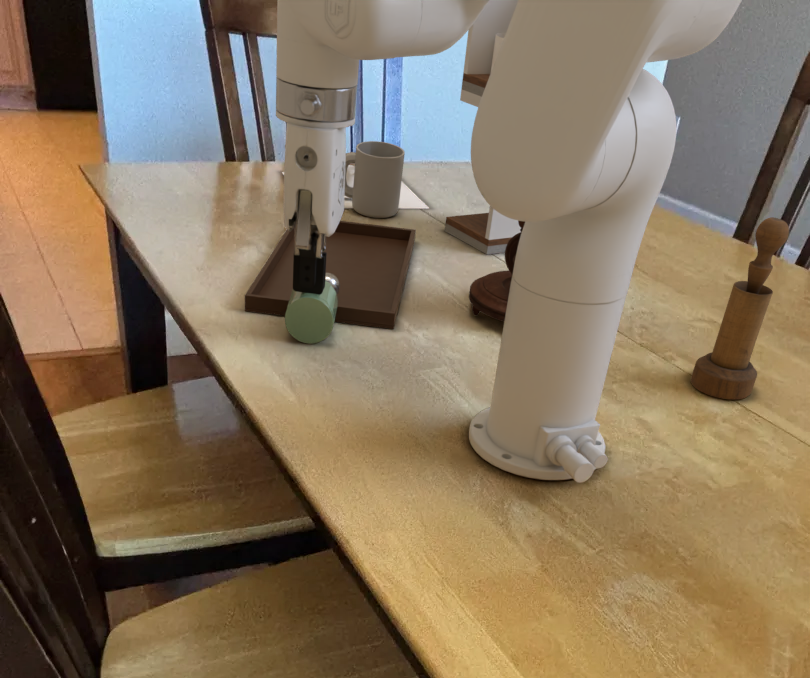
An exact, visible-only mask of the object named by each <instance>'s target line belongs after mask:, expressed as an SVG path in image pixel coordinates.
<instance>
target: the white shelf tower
mask: <svg viewBox="0 0 810 678" xmlns="http://www.w3.org/2000/svg"><path fill="white" fill-rule="evenodd" d="M517 3H518V0H489V2H488V3H487V5H486V6H485V7H484V9H483V10H482V12H481V13H480V15H479V16H478V18H477V19H476V21H475V22H474V23H473V25H472V26H471V27H470V28H469V30H468V31H467V38H466V48H465V56H464V65H463V72H462V73H463V74H462V81H461V89H460V100H459V101H461V102H463V103H466V104H469V105H471V106H474V107H476V108H478V107H479V103H480V101H481V98H482V95H483V92H484V90H485V87H486V84H487V82H488V79H489V76H490V74H491V71H492V69H493V66H494V63H495V61H496V58H497V55H498V53H499V50H500V48H501V45H502V42H503V40H504V37H505V34H506V32H507V29H508V27H509V24H510V21H511V19H512V16H513V13H514V11H515V8H516V6H517ZM520 229H521V227H520V226H519V223H518V220H514V219H511V218H508V217H506V216H504V215H502V214H500V213H499V212H497V211H496V210H494V209H493V208H492V207H491V206H490V205H489V210H488V212H483V213H482V212H480V213H471V214H462V215H451V216H446V217H445V223H444V232H446V233H447V234H449V235H451V236H453V237H455V238H457V239H458V240H460V241H461V242H464V243H465V244H467V245H469V246H470V247H472V248H474V249H476V250H478V251H479V252H481V253H483V254H485V255H493V254H501V253H502V254H503V253H505V249H506V246H507V244H508V242H509V240H510V239H511V238H512V237H513V236H514V235H516V234H518V233H520V232H521V231H520Z"/></svg>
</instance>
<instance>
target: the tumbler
mask: <svg viewBox="0 0 810 678" xmlns="http://www.w3.org/2000/svg"><path fill="white" fill-rule="evenodd" d="M337 305H338V300H337V294H336V291H335V290H334V288H333V287H332V286H331V284H330V283H328V282H327V281H325V288H324V289H323V292H322V294H320V295H319V294H313V293H304V292H296V291H294V290H292V293H291V297H290V300H289V303H288V306H287V310H286V313H285V316H284V323H285V327H286V330H287V331H288V334H290V336H292V338H294V339H295V340H297V341H299V342H301V343H304V344H318V343H320V342H323V341H324V340H326V339H327V338H328V337H329V336H330V335H331V333H332V331H333V328H334V324H335V322H334V321H335V316H336V311H337Z"/></svg>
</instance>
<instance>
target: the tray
mask: <svg viewBox="0 0 810 678" xmlns="http://www.w3.org/2000/svg"><path fill="white" fill-rule="evenodd" d="M416 231H417V230H416V229H415V228H414V229H412V228H405V227H397V226H396V227H394V226H387V225H381V224H380V225H379V224H370V223H362V222H355V221H347V220H340V222H339V224H338V226H337V228H336V230H335V232H334V233H333V234H332V235H331V236H330V237H326V249H325V251H322V252H326V253H327V256H326V273H332V274H334V275H335V276H336V277H337V278H338V280H339V282H340V290H339V292H338V294H337V300H338V305H337V311H336V316H335V321H334V323H341V324H347V325H356V326H366V327H373V328H379V329H380V328H381V329H391V330H394V329H395V325H396V323H397V317H398V313H399V309H400V305H401V301H402V296H403V293H404V289H405V285H406V280H407V276H408V272H409V268H410V265H411V264H410V263H411V260H412V256H413V251H414V246H415V241H416V233H417V232H416ZM293 258H294V228H293V229H292V231H291V232H289V231H288V230H287V229H286V230H285V232H284V233H283V234H282V236H281V238H280V240H279V241H278V243H277V244H276V246H275V247H274V249H273V250H272V252H271V253H270V255H269V256H268V258H267V259H266V261H265V263H264V265H263V266H262V268H261V269H260V271H258V274H257V275H256V277H255V278H254V279H253V282H252V283H251V285H250V286H249V288H248V289H247V291H246V292H245V294H244V311H245V312H249V313H259V314H264V315H265V314H267V315H275V316H281V317H282V316H283V317H285V313H286V310H287V306H288V303H289V300H290V297H291V293H292V290H293Z"/></svg>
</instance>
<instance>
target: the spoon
mask: <svg viewBox="0 0 810 678" xmlns="http://www.w3.org/2000/svg"><path fill="white" fill-rule="evenodd" d="M325 281H327V282H328V283H330V284H331V286H332V287H333V288H334V290H335V291H336V294H338V292H339V290H340V282H339V280H338V278H337V277H336V276H335V275H334V274H332V273H326V276H325Z"/></svg>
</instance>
